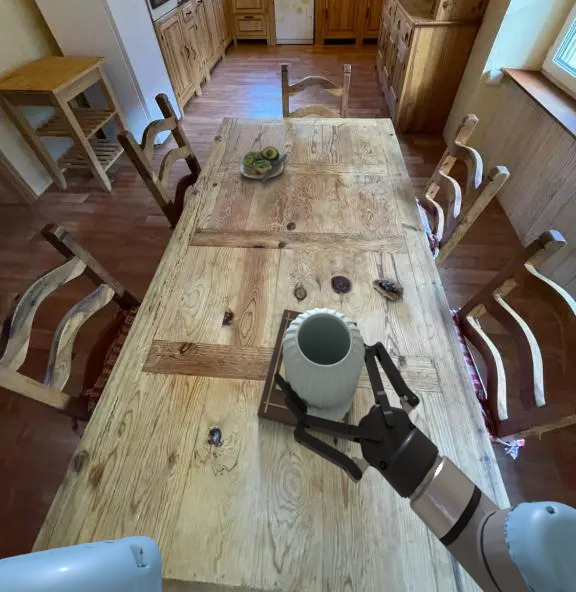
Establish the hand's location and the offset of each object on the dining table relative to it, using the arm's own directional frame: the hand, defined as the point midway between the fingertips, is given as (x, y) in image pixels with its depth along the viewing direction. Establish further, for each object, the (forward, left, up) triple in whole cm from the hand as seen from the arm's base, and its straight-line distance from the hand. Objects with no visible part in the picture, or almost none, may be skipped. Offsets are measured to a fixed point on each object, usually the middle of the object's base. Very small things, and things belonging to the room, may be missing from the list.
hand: (304, 349), depth 55 cm
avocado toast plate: (+76, +31, -24) cm, 86 cm away
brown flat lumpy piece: (+31, -16, -24) cm, 42 cm away
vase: (-2, -3, -12) cm, 13 cm away
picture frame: (+6, 0, -24) cm, 25 cm away
